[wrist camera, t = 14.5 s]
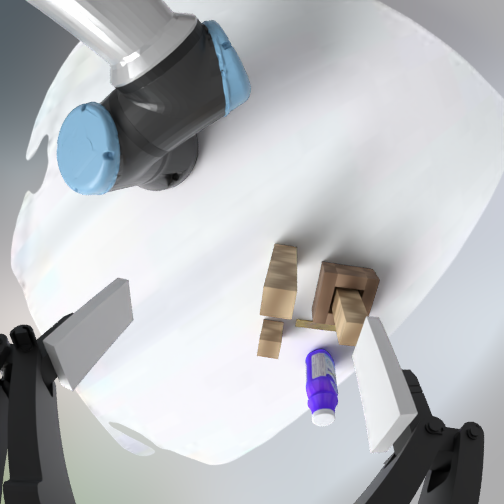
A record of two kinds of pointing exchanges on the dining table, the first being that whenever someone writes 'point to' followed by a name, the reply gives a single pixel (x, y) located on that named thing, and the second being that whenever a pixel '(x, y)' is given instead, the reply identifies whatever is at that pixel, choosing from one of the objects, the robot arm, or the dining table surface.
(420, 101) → the dining table surface
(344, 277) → the hole block
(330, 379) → the bottle
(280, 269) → the peg long
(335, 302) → the peg medium
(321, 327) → the strip
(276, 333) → the peg short
